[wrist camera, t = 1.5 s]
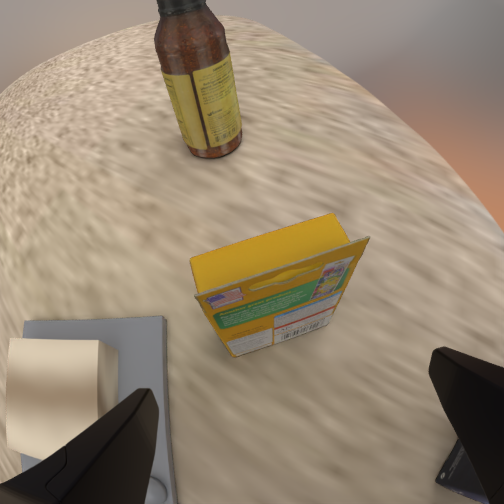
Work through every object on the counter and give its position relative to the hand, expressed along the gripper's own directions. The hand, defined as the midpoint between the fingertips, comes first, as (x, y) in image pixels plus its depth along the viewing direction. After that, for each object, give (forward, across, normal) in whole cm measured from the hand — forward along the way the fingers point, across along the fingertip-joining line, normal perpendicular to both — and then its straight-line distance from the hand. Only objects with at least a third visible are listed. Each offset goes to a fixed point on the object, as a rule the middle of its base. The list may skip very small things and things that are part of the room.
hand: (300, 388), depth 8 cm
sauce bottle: (+27, +4, -9) cm, 29 cm away
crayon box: (+13, 0, +5) cm, 14 cm away
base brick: (+8, +16, +9) cm, 20 cm away
